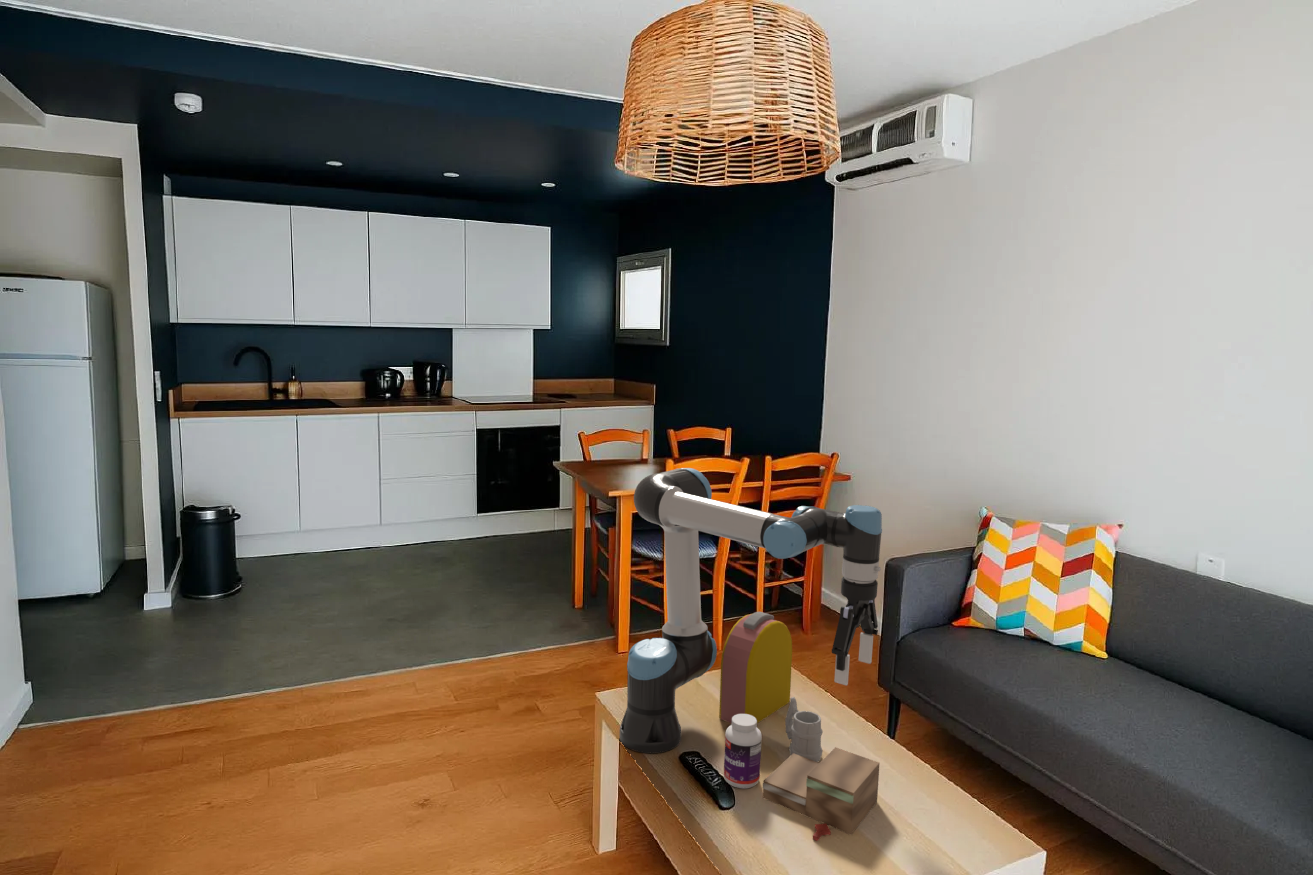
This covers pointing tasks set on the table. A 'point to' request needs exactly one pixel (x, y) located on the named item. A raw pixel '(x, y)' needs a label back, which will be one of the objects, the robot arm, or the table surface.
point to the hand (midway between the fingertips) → (853, 672)
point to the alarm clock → (755, 668)
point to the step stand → (826, 789)
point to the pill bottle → (742, 752)
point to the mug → (804, 732)
